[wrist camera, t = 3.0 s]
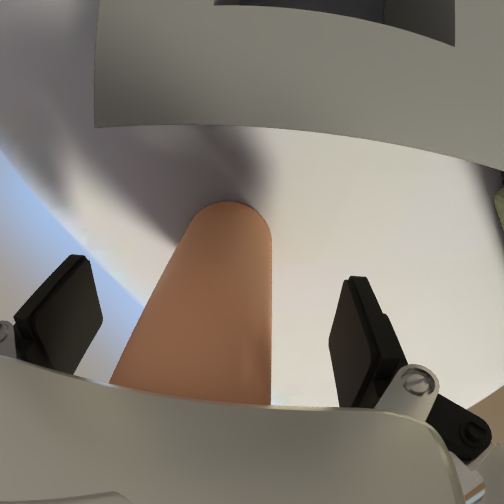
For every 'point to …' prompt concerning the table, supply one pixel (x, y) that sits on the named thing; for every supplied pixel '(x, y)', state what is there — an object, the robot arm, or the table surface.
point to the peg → (208, 314)
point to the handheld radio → (500, 202)
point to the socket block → (309, 71)
